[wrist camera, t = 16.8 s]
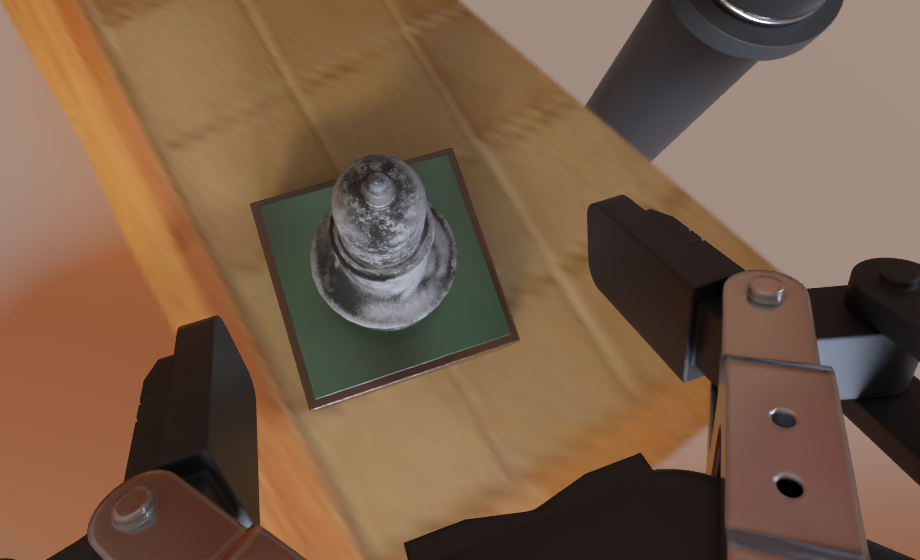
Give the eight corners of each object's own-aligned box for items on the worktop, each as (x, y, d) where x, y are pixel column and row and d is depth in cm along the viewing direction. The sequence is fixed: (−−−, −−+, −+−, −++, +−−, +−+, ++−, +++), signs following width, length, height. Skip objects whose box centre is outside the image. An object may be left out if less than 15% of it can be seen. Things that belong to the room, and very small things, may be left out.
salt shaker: (461, 229, 28) (507, 106, 16) (434, 350, 27) (462, 313, 15) (339, 199, 28) (296, 53, 16) (306, 321, 26) (232, 259, 15)
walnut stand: (446, 172, 32) (453, 144, 29) (507, 346, 31) (522, 339, 27) (265, 224, 31) (247, 200, 27) (319, 409, 29) (308, 411, 26)
